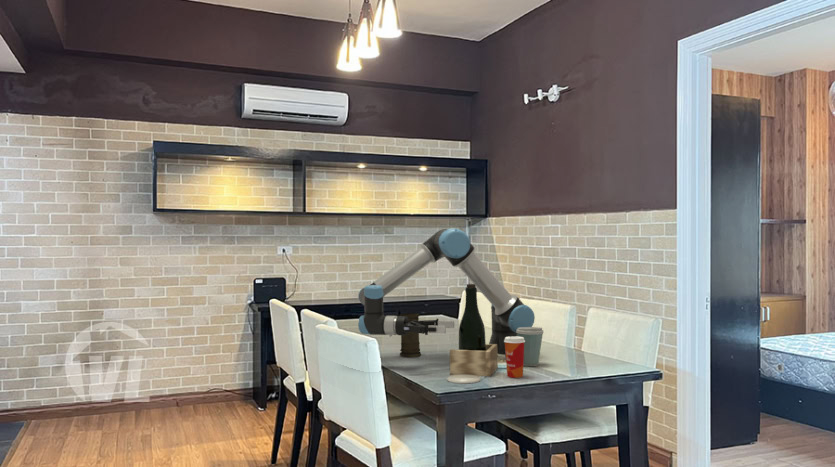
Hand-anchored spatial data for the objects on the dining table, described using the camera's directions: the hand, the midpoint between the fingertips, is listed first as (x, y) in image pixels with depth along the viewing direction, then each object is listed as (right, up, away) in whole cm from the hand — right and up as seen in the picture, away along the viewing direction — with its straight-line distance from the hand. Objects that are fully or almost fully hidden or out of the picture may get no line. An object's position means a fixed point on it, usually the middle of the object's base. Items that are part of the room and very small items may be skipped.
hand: (450, 327), depth 245 cm
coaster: (+4, -16, -17) cm, 24 cm away
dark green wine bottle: (+8, -16, -2) cm, 19 cm away
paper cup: (+23, -16, -13) cm, 31 cm away
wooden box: (+8, -16, -2) cm, 18 cm away
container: (-15, -17, +30) cm, 38 cm away
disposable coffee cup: (+32, -16, +7) cm, 36 cm away
